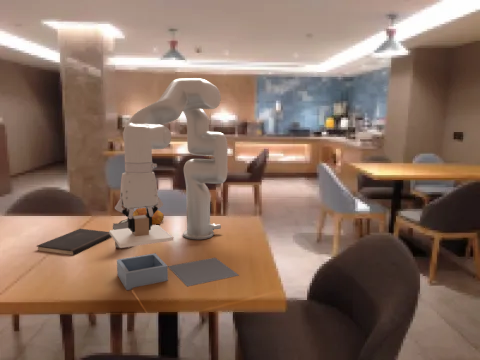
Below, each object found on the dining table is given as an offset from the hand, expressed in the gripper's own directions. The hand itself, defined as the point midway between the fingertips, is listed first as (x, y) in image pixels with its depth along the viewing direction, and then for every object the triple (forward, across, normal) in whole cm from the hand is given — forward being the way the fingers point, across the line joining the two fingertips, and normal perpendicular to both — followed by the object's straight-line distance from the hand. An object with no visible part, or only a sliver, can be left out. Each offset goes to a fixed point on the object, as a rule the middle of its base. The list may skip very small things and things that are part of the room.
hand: (140, 229), depth 113 cm
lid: (+2, 0, 0) cm, 2 cm away
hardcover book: (+16, +13, -44) cm, 49 cm away
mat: (+15, -18, +4) cm, 24 cm away
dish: (+15, 0, 0) cm, 15 cm away
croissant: (+15, -19, -61) cm, 65 cm away
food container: (+15, -4, -32) cm, 36 cm away
